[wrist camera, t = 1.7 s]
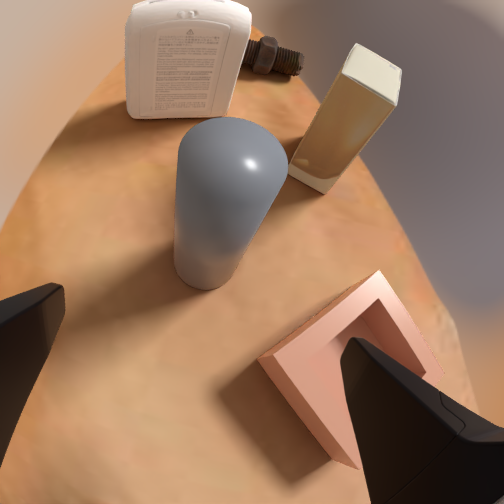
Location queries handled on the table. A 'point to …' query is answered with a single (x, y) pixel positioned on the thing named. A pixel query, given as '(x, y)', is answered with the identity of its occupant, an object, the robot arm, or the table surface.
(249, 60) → the bolt
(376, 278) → the tray
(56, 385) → the table surface
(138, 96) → the photo printer
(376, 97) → the skincare box
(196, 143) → the grey dome-topped post
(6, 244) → the table surface
